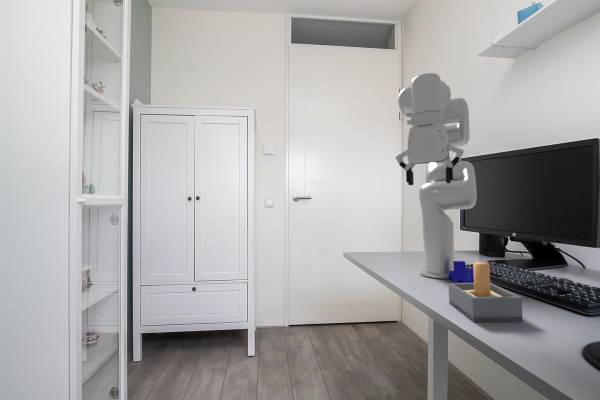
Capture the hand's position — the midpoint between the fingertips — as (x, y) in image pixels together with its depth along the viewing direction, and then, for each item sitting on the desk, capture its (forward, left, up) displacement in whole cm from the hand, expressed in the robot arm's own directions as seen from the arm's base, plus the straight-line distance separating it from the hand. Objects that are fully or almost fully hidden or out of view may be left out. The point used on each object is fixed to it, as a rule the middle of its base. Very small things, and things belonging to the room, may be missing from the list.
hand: (429, 184), depth 86 cm
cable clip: (-14, +6, -31) cm, 34 cm away
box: (+9, +12, -30) cm, 34 cm away
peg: (+9, +12, -29) cm, 33 cm away
